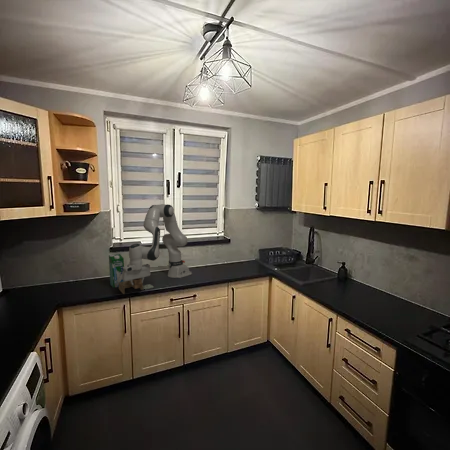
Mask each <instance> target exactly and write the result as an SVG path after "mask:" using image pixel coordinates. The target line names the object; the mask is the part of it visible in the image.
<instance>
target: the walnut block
mask: <svg viewBox="0 0 450 450" xmlns="http://www.w3.org/2000/svg"><path fill="white" fill-rule="evenodd" d="M133 282H134V285H133V287H132V288H134V289H135V290H137V289H140V288H141V287H142V278H138V279H133Z"/></svg>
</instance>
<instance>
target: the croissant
mask: <svg viewBox="0 0 450 450" xmlns="http://www.w3.org/2000/svg"><path fill="white" fill-rule="evenodd" d="M132 282H133V281H132ZM143 286H144V282H143V283H142V287H141V288H139V289H140V290H141V291H143V290H144V289H143ZM129 288H134V287H133V285H132V284H131V282H130V280H129V281H124V282H119V287H118V290H119V291H120V292H121V293H122V294H123V295H125V293H126V291H125V290H126V289H129Z"/></svg>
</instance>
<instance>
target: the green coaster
mask: <svg viewBox="0 0 450 450" xmlns="http://www.w3.org/2000/svg"><path fill="white" fill-rule="evenodd" d="M153 288H155V287H154V286H153V285H152V284H150V283H149V284H143V290H144V289H145V290H149V289H153Z"/></svg>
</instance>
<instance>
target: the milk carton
mask: <svg viewBox="0 0 450 450" xmlns="http://www.w3.org/2000/svg"><path fill="white" fill-rule="evenodd" d="M124 260H125V258H124V257H123V256H122V254H121V253H117V254H110V255H108V264H109V265H108V266H109V268H108V269H109V281H110V282H109V284H110V285H109V286H111V287H112V288H119V282H124V281H123V279H122V273H123V271H124V269H123V267H124V266H125V261H124Z"/></svg>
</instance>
